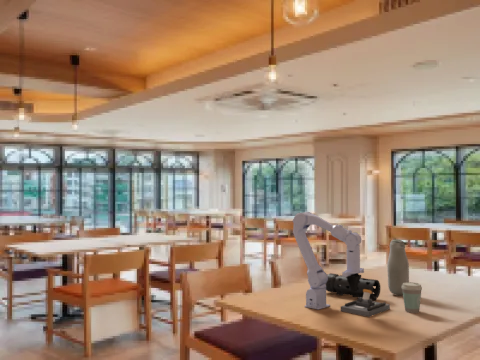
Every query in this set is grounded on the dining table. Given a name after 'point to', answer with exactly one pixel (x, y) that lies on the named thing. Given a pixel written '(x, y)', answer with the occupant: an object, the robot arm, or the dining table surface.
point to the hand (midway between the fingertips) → (353, 291)
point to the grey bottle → (397, 267)
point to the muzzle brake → (342, 286)
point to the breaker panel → (365, 307)
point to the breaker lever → (366, 294)
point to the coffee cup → (412, 296)
